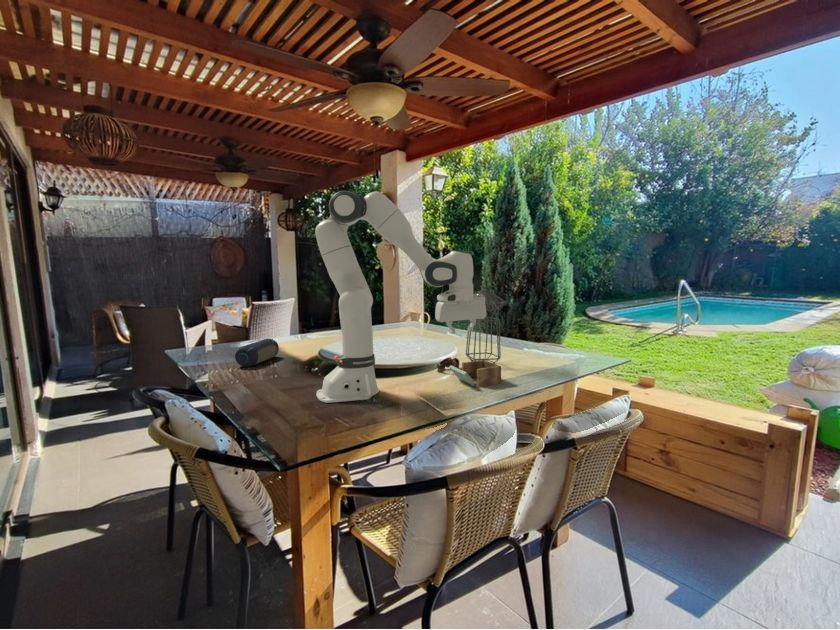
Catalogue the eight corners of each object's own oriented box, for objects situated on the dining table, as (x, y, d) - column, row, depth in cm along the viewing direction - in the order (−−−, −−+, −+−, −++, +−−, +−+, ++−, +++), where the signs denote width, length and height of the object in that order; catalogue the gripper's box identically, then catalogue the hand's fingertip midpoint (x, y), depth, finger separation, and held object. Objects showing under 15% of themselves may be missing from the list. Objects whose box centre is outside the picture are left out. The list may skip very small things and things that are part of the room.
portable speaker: (252, 369, 193) (250, 347, 192) (233, 368, 196) (231, 346, 194) (282, 356, 217) (281, 337, 216) (265, 355, 220) (264, 336, 219)
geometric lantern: (460, 363, 199) (461, 288, 195) (491, 361, 203) (493, 288, 199) (474, 371, 184) (476, 290, 180) (507, 369, 188) (509, 289, 184)
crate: (478, 390, 158) (478, 369, 157) (461, 382, 169) (462, 362, 168) (500, 387, 163) (501, 366, 161) (483, 379, 173) (483, 359, 172)
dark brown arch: (457, 379, 175) (447, 362, 174) (440, 386, 180) (430, 369, 179) (469, 366, 184) (459, 350, 183) (452, 372, 190) (442, 356, 189)
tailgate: (474, 387, 158) (464, 374, 155) (458, 379, 168) (448, 367, 166) (476, 384, 158) (466, 372, 155) (460, 377, 168) (450, 365, 166)
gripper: (480, 293, 165) (480, 328, 167) (433, 295, 156) (433, 333, 158) (489, 294, 159) (489, 330, 161) (441, 297, 150) (441, 336, 152)
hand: (461, 332), depth 159 cm, fingers open, 6 cm apart
